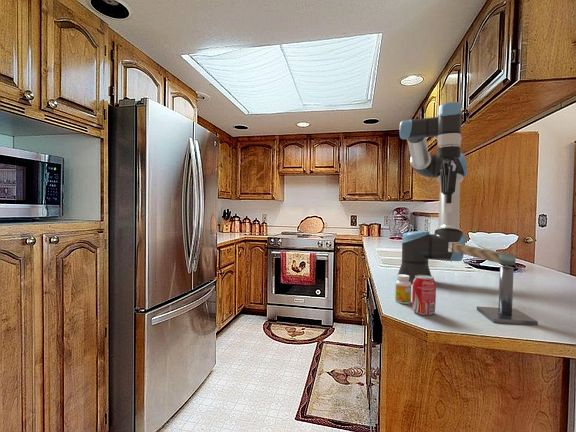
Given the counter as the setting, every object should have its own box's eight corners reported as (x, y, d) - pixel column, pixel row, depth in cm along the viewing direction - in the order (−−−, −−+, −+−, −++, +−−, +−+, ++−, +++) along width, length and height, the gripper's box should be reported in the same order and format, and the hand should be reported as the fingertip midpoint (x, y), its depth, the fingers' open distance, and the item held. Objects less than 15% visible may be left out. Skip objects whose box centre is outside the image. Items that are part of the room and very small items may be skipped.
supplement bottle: (392, 300, 119) (392, 274, 118) (403, 299, 121) (404, 273, 120) (402, 304, 114) (402, 277, 113) (414, 303, 116) (414, 276, 115)
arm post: (476, 309, 109) (478, 263, 108) (515, 312, 107) (517, 264, 106) (493, 322, 97) (495, 270, 96) (537, 325, 95) (539, 271, 94)
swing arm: (518, 266, 99) (519, 254, 99) (505, 266, 99) (505, 254, 99) (457, 251, 131) (458, 242, 131) (447, 251, 131) (447, 242, 131)
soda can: (415, 308, 110) (416, 273, 110) (437, 312, 106) (438, 276, 105) (408, 313, 105) (409, 276, 104) (431, 318, 100) (432, 280, 100)
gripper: (467, 143, 109) (465, 213, 110) (453, 149, 122) (452, 211, 123) (443, 144, 110) (441, 213, 111) (432, 150, 123) (431, 211, 124)
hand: (447, 212), depth 117 cm, fingers closed
